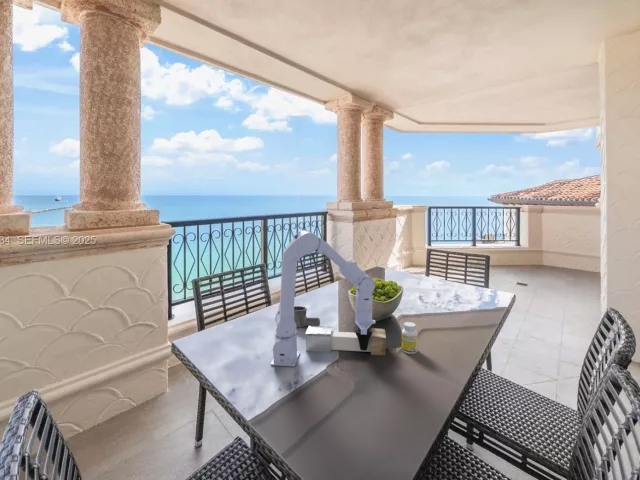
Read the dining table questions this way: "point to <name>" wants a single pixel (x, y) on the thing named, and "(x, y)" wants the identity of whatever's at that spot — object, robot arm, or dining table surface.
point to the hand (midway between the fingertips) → (363, 345)
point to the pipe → (304, 318)
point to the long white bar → (347, 342)
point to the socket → (378, 342)
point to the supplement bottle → (409, 338)
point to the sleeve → (318, 339)
